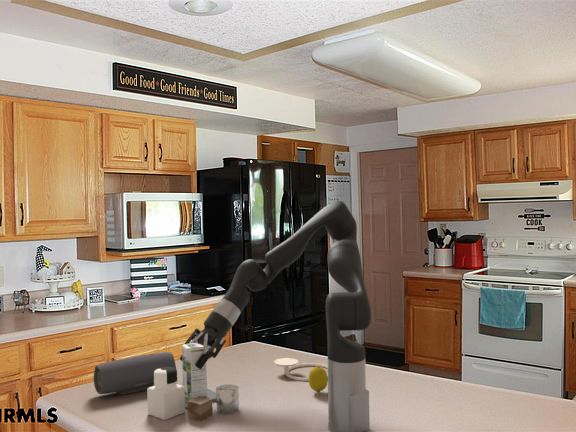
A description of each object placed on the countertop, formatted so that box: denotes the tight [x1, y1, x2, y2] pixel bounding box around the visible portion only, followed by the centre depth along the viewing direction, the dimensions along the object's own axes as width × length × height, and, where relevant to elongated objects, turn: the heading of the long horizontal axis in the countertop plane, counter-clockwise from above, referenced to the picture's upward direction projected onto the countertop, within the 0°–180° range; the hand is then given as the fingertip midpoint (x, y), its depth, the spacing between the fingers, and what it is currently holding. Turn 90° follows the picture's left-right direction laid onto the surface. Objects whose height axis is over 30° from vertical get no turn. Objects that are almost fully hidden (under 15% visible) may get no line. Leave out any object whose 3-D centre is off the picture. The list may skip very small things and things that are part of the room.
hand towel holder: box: [273, 357, 328, 383], centre depth 178 cm, size 17×4×21 cm
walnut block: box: [187, 396, 213, 423], centre depth 143 cm, size 4×4×4 cm
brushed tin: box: [215, 383, 240, 415], centre depth 148 cm, size 6×6×6 cm
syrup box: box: [181, 342, 208, 400], centre depth 157 cm, size 6×6×14 cm
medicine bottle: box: [146, 367, 186, 421], centre depth 146 cm, size 7×7×12 cm
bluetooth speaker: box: [93, 351, 177, 395], centre depth 166 cm, size 23×9×10 cm, turn 126°
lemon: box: [308, 366, 328, 394], centre depth 160 cm, size 6×6×8 cm
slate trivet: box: [185, 388, 216, 410], centre depth 157 cm, size 12×12×1 cm
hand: (189, 364), depth 156 cm, fingers open, 8 cm apart
